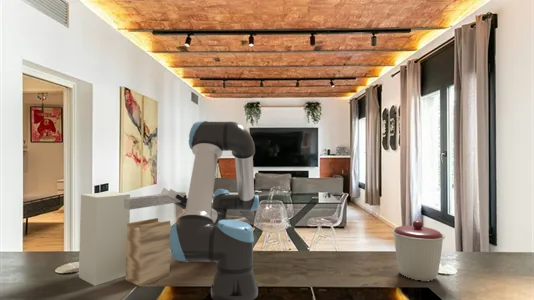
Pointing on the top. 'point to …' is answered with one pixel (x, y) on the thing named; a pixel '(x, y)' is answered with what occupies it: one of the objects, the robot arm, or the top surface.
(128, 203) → the rail
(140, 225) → the light brown boxy piece
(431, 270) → the canister
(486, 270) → the top surface
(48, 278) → the top surface
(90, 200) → the unit
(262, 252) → the top surface
